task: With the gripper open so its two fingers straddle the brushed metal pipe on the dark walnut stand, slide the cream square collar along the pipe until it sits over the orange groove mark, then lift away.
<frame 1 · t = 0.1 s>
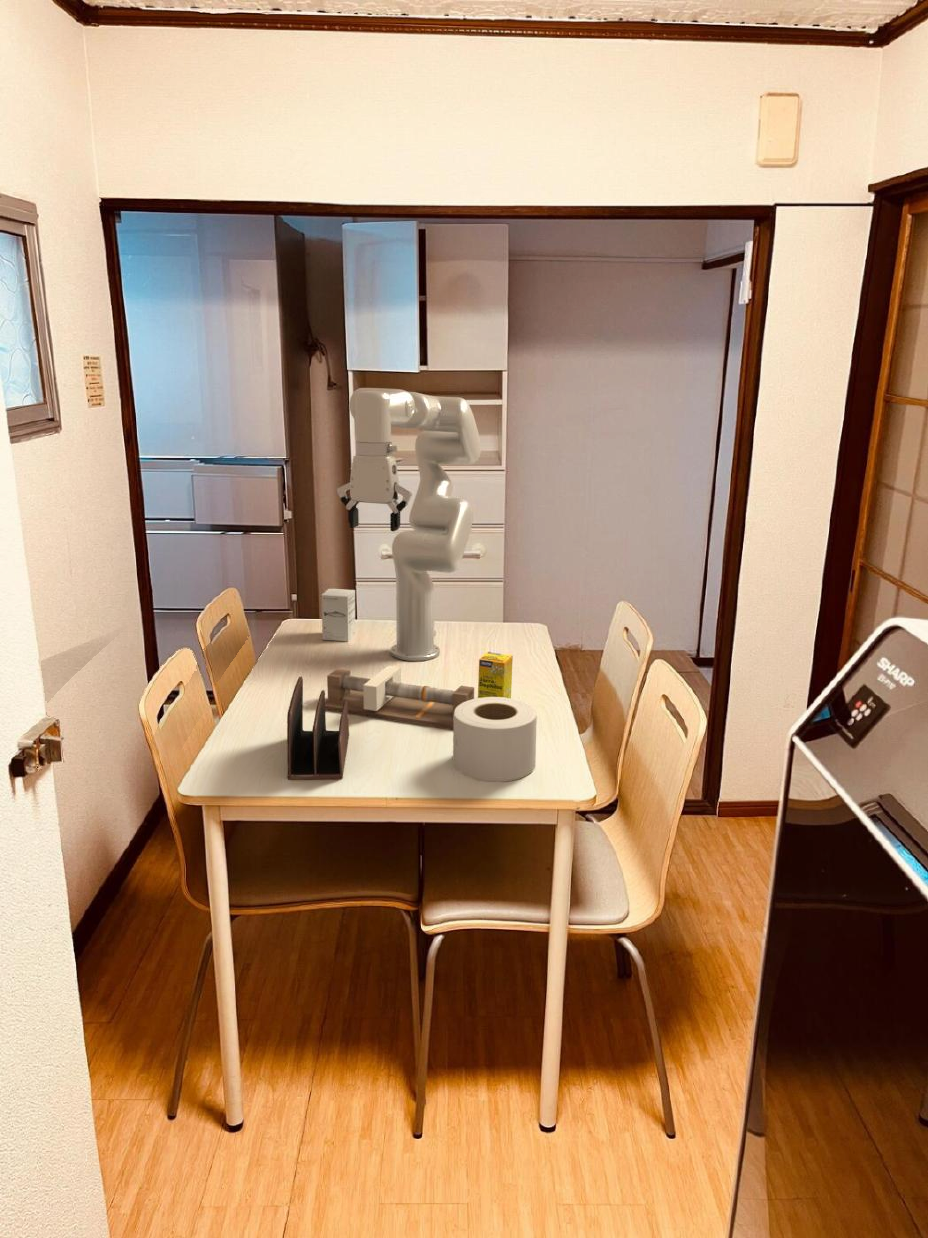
hand: (374, 528, 202), 37 cm above the table, tool pointing down, fingers open, 9 cm apart
pipe stand: (399, 709, 199), on the table
collar: (382, 687, 199), point 5 cm above the table, slide at -4.0 cm
letter holder: (320, 758, 176), on the table
supplement box 2: (339, 638, 247), on the table
supplement box: (494, 704, 203), on the table
white paper roll: (494, 764, 174), on the table
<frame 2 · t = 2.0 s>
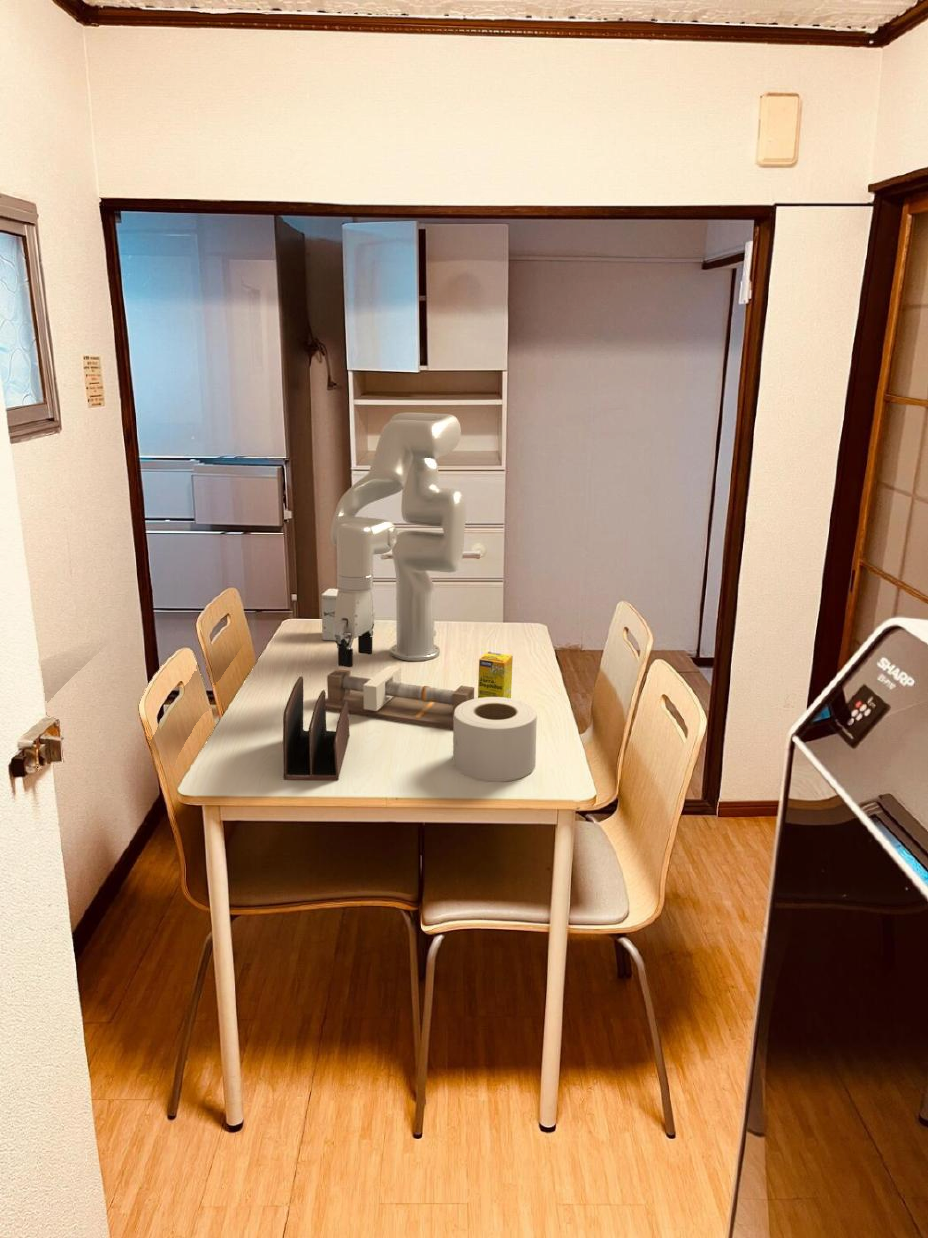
hand: (355, 659, 198), 10 cm above the table, tool pointing down, fingers open, 9 cm apart
nothing on the table moved.
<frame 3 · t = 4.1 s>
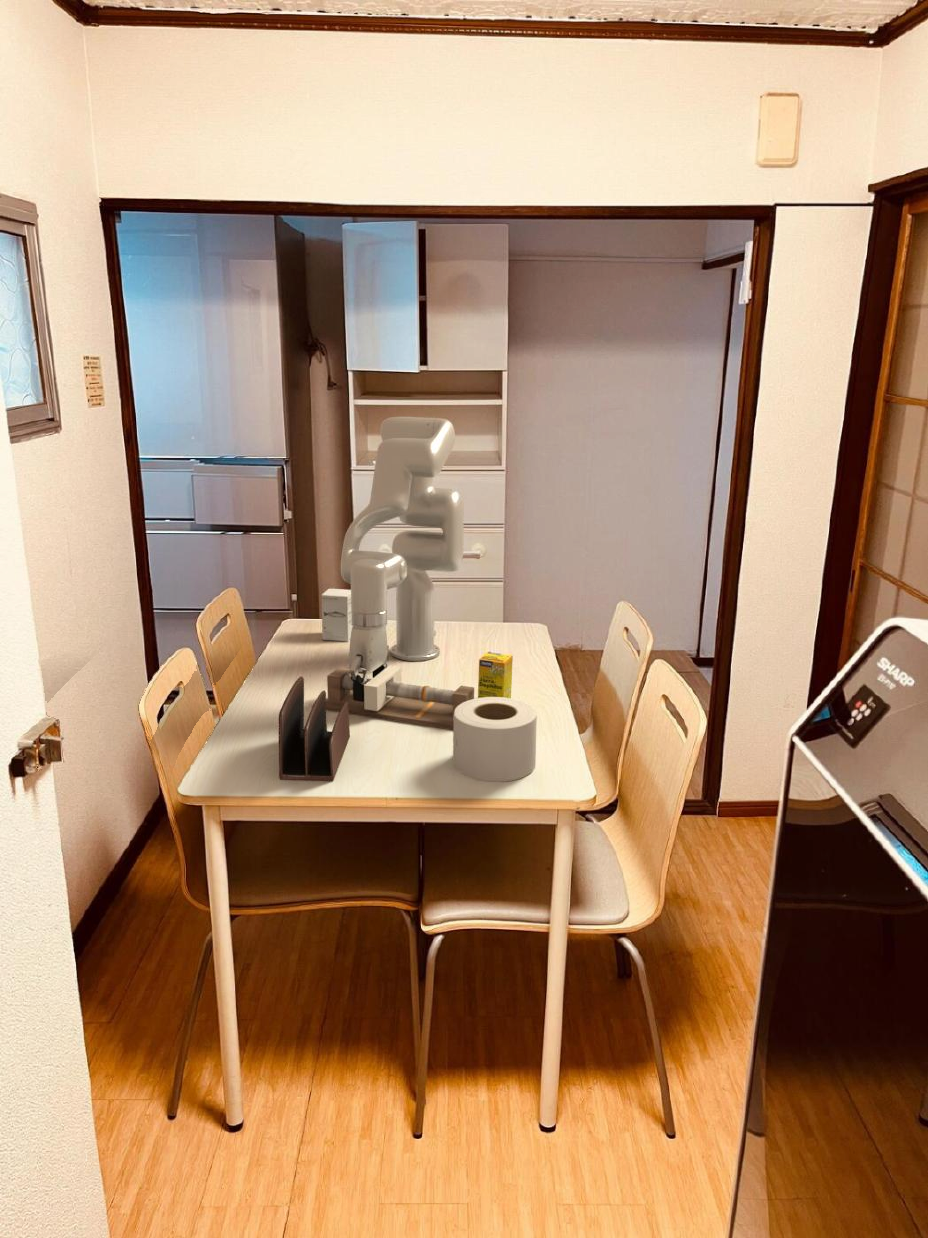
hand: (370, 693, 200), 3 cm above the table, tool pointing down, fingers open, 9 cm apart
collar: (383, 687, 198), point 4 cm above the table, slide at -3.8 cm, touching gripper
everything else where it was.
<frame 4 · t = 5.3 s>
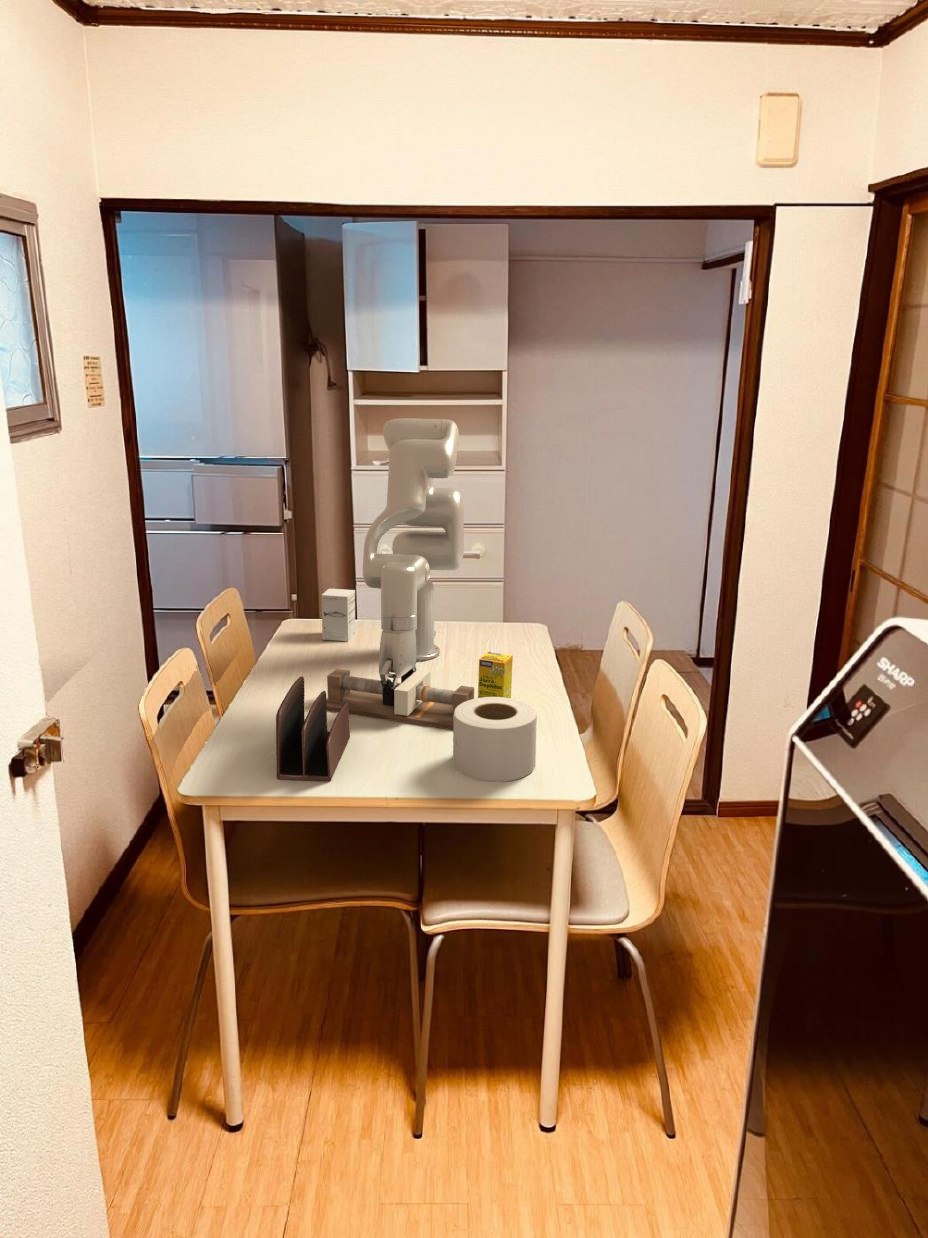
hand: (399, 697, 198), 3 cm above the table, tool pointing down, fingers open, 9 cm apart
collar: (412, 692, 196), point 4 cm above the table, slide at 3.0 cm, touching gripper
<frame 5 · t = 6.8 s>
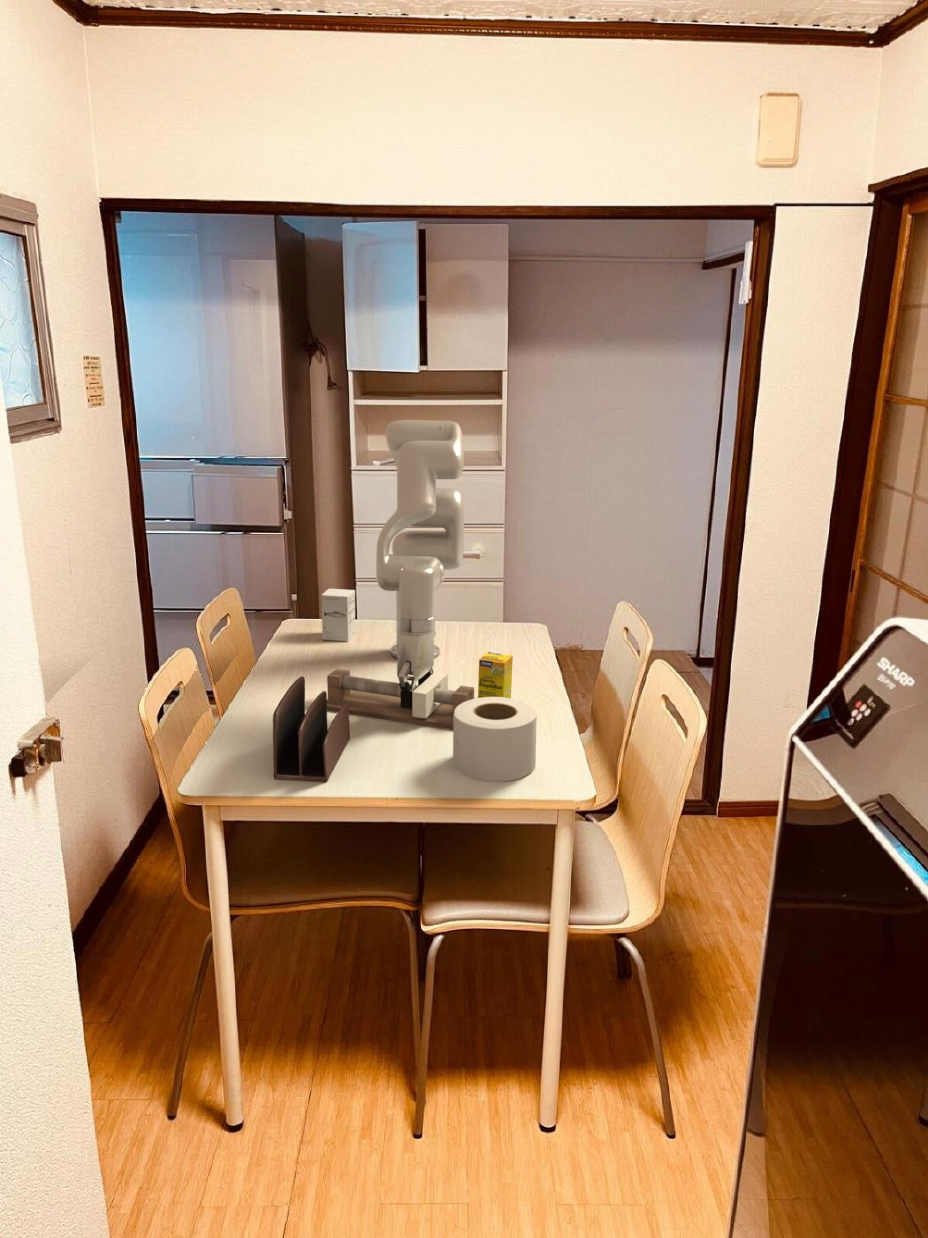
hand: (416, 700, 197), 3 cm above the table, tool pointing down
collar: (430, 694, 195), point 4 cm above the table, slide at 7.1 cm, touching gripper
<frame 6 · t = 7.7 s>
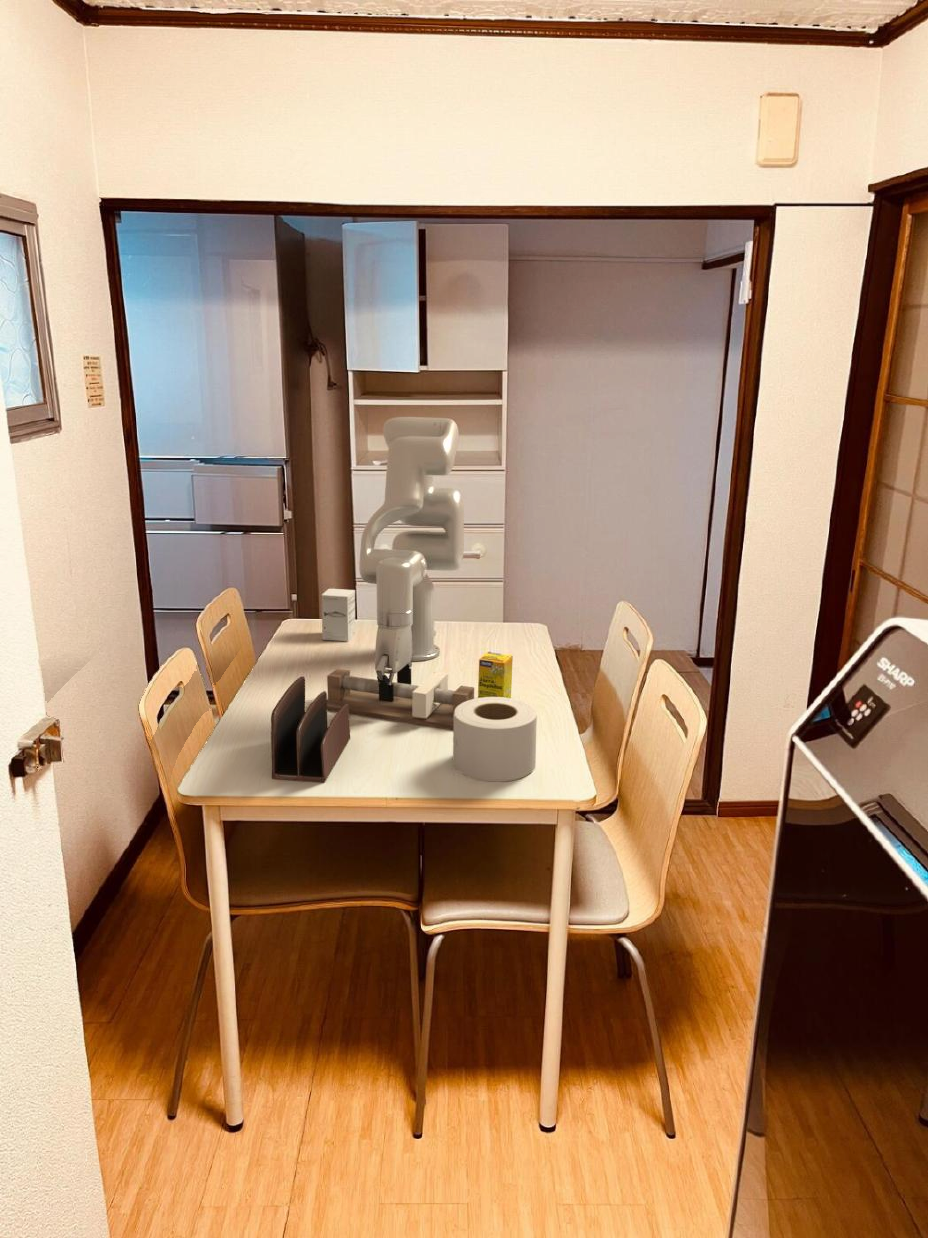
hand: (395, 692, 198), 4 cm above the table, tool pointing down, fingers open, 9 cm apart
collar: (430, 694, 195), point 4 cm above the table, slide at 7.1 cm
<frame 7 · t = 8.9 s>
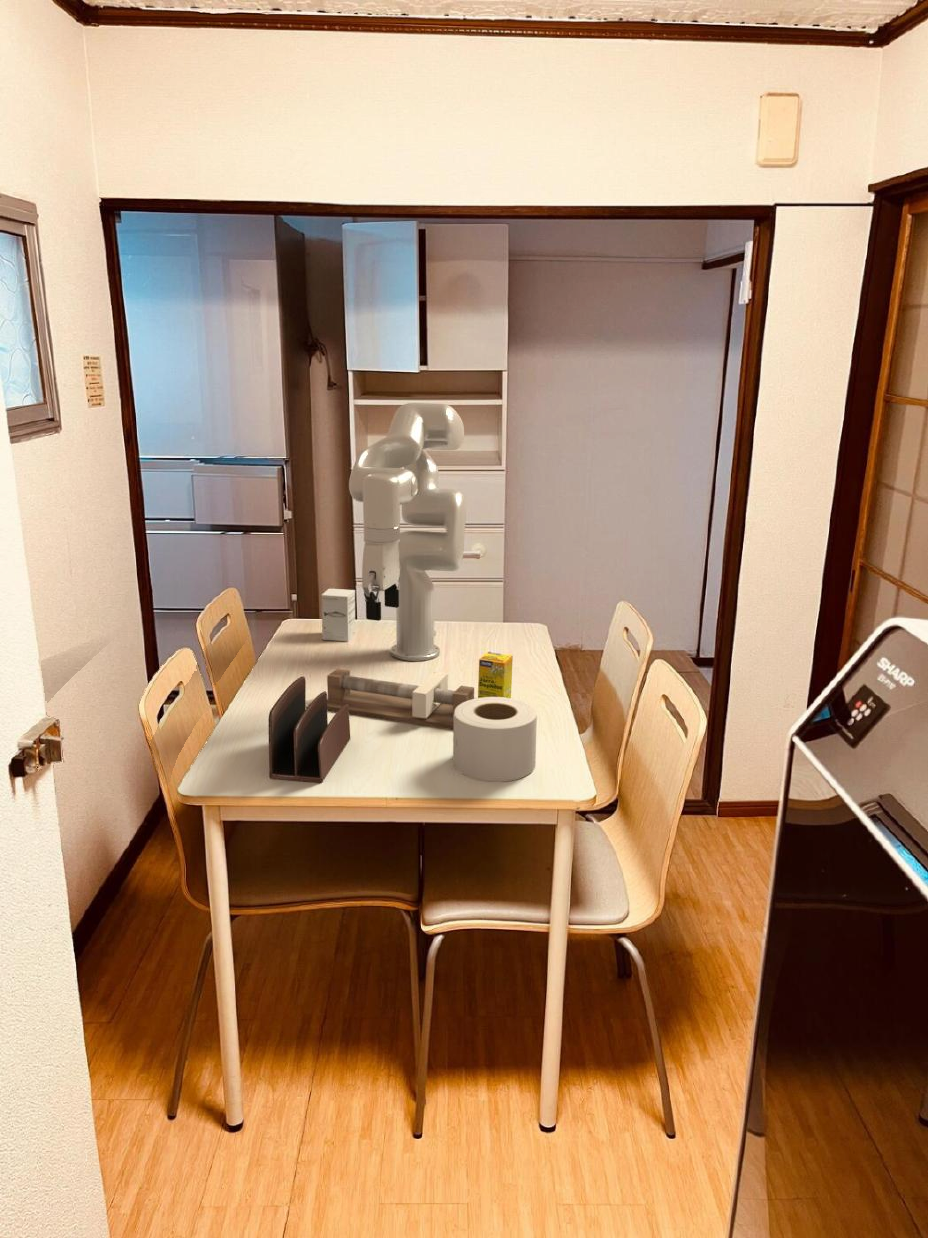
hand: (382, 613, 195), 21 cm above the table, tool pointing down, fingers open, 9 cm apart
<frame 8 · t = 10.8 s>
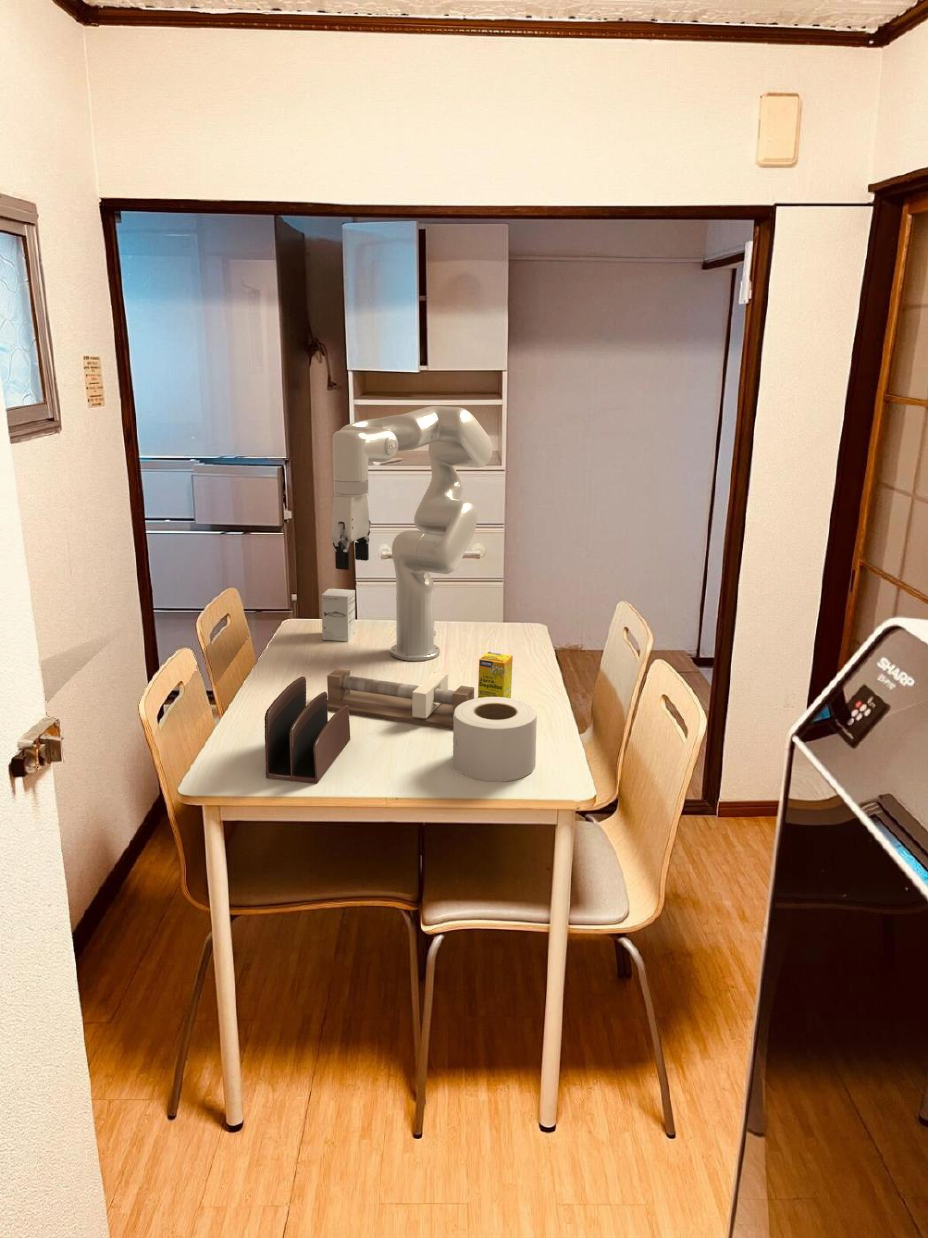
hand: (352, 564, 205), 28 cm above the table, tool pointing down, fingers open, 9 cm apart
at the end: collar slide at 7.1 cm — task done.
